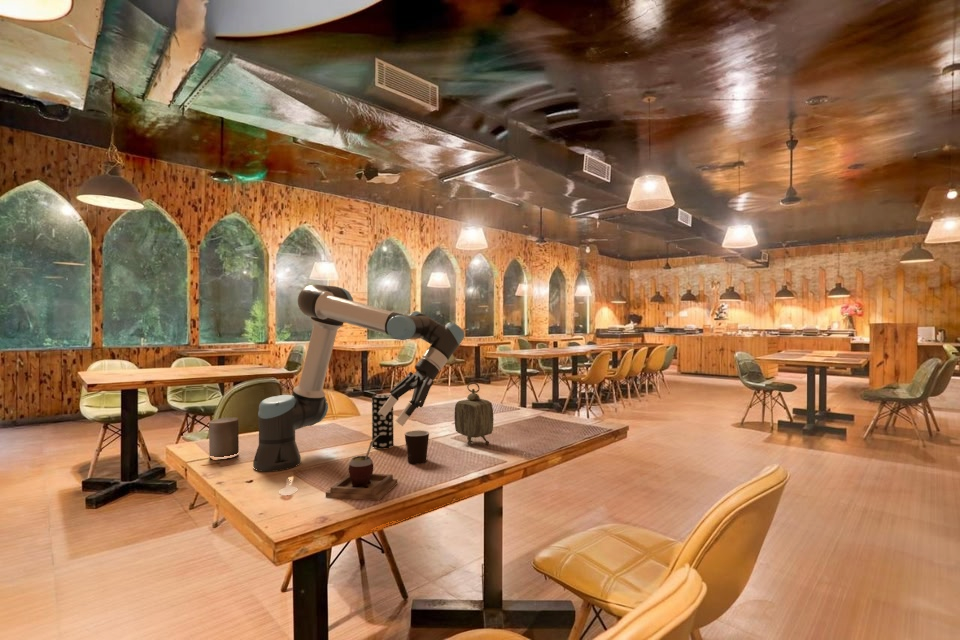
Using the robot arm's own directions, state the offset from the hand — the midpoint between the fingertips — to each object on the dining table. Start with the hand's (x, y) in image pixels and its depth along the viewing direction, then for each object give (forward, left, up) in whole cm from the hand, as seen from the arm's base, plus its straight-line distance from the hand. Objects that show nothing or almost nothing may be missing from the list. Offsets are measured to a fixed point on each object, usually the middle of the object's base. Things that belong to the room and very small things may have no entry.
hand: (390, 418), depth 142 cm
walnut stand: (-5, -8, -19) cm, 22 cm away
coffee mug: (+2, +23, -20) cm, 30 cm away
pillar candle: (-71, +16, -20) cm, 76 cm away
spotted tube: (-18, +39, -20) cm, 48 cm away
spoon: (-29, -8, -20) cm, 36 cm away
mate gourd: (-6, -8, -18) cm, 21 cm away
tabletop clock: (+17, +48, -20) cm, 55 cm away
